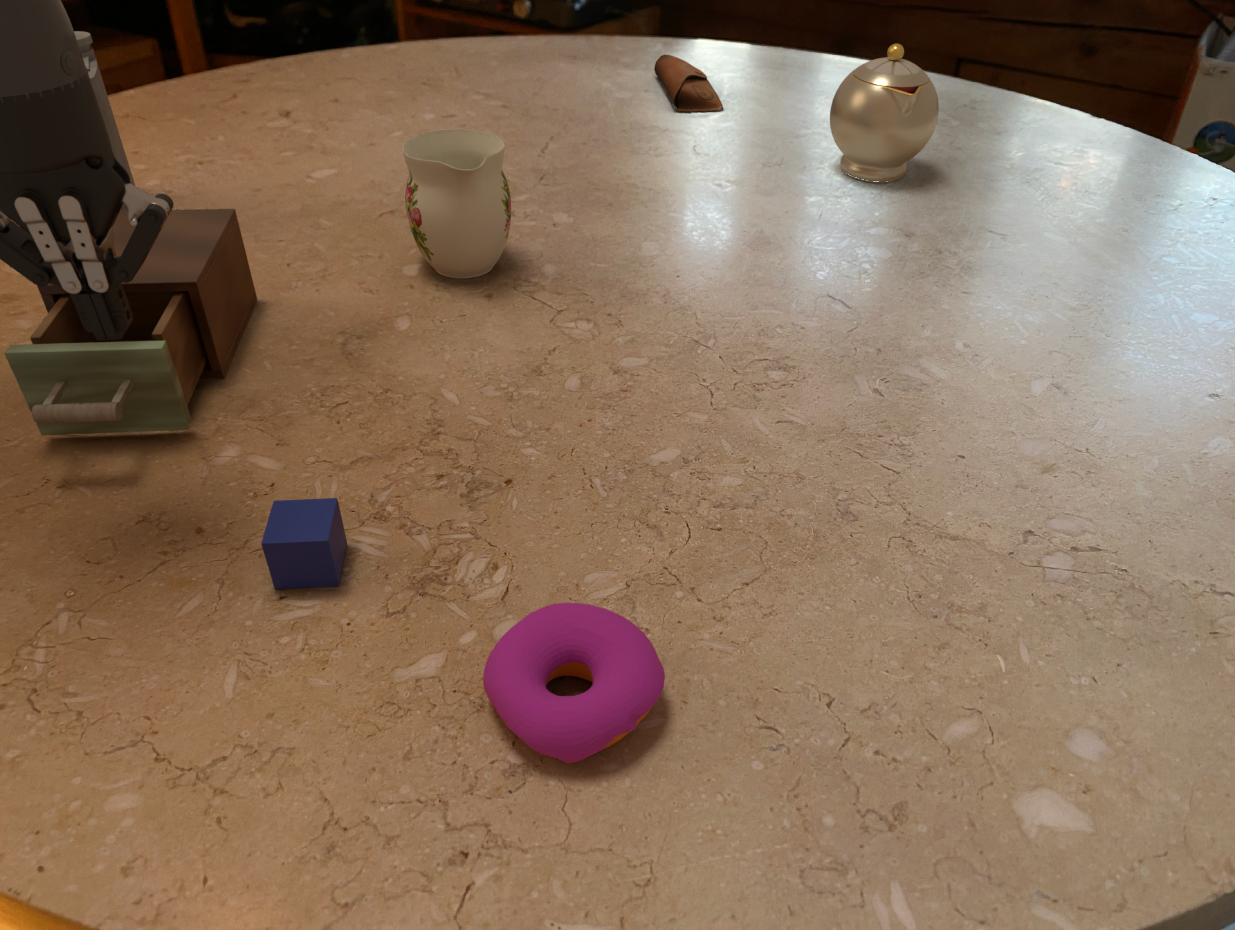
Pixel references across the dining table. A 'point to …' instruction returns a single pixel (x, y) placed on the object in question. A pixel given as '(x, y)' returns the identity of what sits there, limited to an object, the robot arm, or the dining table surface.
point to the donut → (580, 649)
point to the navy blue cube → (305, 543)
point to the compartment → (113, 369)
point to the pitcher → (458, 199)
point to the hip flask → (103, 101)
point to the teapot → (883, 117)
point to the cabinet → (194, 276)
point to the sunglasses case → (686, 85)
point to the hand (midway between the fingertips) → (113, 334)
